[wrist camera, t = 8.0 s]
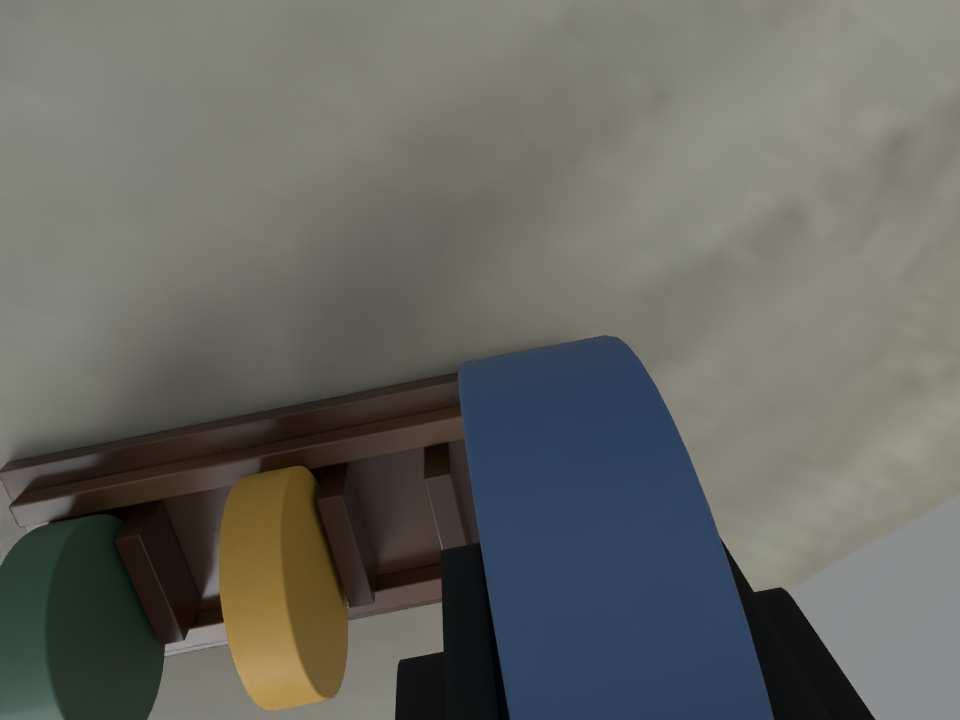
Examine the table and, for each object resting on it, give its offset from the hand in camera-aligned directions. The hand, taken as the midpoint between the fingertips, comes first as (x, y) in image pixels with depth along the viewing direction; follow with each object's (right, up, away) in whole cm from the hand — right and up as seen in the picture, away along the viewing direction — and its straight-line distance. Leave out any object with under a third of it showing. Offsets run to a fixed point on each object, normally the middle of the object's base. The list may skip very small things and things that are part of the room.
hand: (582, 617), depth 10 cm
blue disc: (0, +1, +3) cm, 3 cm away
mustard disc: (-8, -3, +20) cm, 22 cm away
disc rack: (-8, -3, +21) cm, 23 cm away
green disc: (-16, -5, +20) cm, 26 cm away
